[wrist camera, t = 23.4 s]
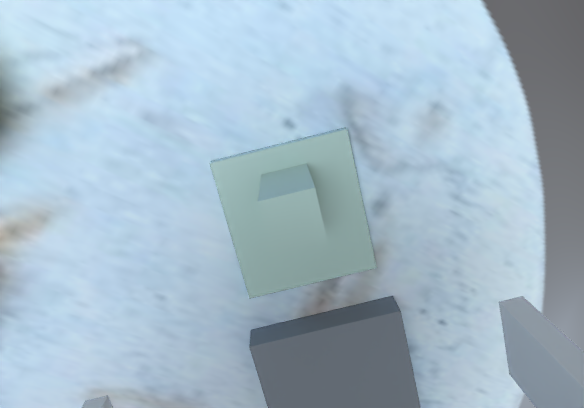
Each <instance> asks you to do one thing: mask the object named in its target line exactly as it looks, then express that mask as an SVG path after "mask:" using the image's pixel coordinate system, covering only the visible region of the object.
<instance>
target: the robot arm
mask: <svg viewBox="0 0 584 408" xmlns="http://www.w3.org/2000/svg"><path fill="white" fill-rule="evenodd" d="M499 305H500V312H501V319H502V326H503V333H504V340H505V347H506V354H507V361H508V368H509V374H510V375H511V377H512V378H513V379H514V380H515V382H516V383H517V384H518V386H519V387H520V388H521V389H522V391H523V392H524V393H525V395H526V396H527V397H528V398H529V400H530V401H531V402H532V403H533V405H534V406H535V407H536V408H584V351H583V350H582V349H580V348H579V347H578V346H577V345H576V344H575V343H574V342H573V341H572V340H570V339H569V338H568V337H567V336H566V335H565V334H564V333H563V332H562V331H560V330H559V329H558V328H557V327H556V326H555V325H554V324H553V323H551V322H550V321H549V320H548V319H547V318H546V317H545V316H544V315H543V314H542V313H540V312H539V311H538V310H537V309H536V308H535V307H534V306H533V305H532V304H530V303H529V302H528V301H527V300H526V299H525V298H524V297H523V296H521V297H517V298H513V299H509V300H505V301H500V302H499ZM82 408H113V406H112V404H111V402H110V399H109V397H108V395H107V396H103V397H99V398H95V399H91V400H87V401H85V403H84V405H83V406H82Z"/></svg>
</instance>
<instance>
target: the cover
mask: <svg viewBox="0 0 584 408" xmlns="http://www.w3.org/2000/svg"><path fill="white" fill-rule="evenodd" d="M210 166H211V170H212V173H213V176H214V180H215V183H216V186H217V190H218V193H219V197H220V200H221V203H222V207H223V210H224V214H225V217H226V220H227V224H228V227H229V231H230V234H231V237H232V241H233V244H234V247H235V251H236V254H237V258H238V261H239V264H240V268H241V271H242V275H243V278H244V281H245V285H246V288H247V291H248V295H249V298H254V297H258V296H263V295H267V294H271V293H275V292H279V291H283V290H288V289H292V288H296V287H300V286H304V285H308V284H312V283H317V282H321V281H325V280H329V279H333V278H337V277H342V276H346V275H350V274H354V273H358V272H362V271H367V270H371V269H375V268H377V266H376V262H375V257H374V252H373V248H372V243H371V238H370V234H369V229H368V224H367V219H366V215H365V210H364V205H363V201H362V196H361V191H360V187H359V182H358V177H357V173H356V168H355V163H354V158H353V154H352V149H351V144H350V140H349V135H348V130H347V129H346V128H341V129H337V130H333V131H329V132H325V133H321V134H317V135H313V136H309V137H305V138H301V139H297V140H293V141H289V142H285V143H281V144H277V145H273V146H269V147H265V148H261V149H257V150H253V151H249V152H245V153H241V154H237V155H233V156H229V157H225V158H221V159H217V160H213V161H211V162H210Z"/></svg>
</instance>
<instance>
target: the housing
mask: <svg viewBox="0 0 584 408" xmlns="http://www.w3.org/2000/svg"><path fill="white" fill-rule="evenodd" d="M250 350H251V354H252V357H253V360H254V363H255V367H256V370H257V373H258V376H259V380H260V383H261V386H262V390H263V393H264V396H265V399H266V403H267V406H268V408H420V403H419V398H418V394H417V389H416V384H415V379H414V374H413V369H412V364H411V360H410V355H409V350H408V345H407V340H406V335H405V330H404V326H403V321H402V316H401V311H400V309H399V307H398V305H397V303H396V301H395V300H394V298H393V296H391V297H387V298H382V299H378V300H374V301H370V302H366V303H362V304H357V305H353V306H349V307H345V308H341V309H336V310H332V311H328V312H324V313H320V314H316V315H311V316H307V317H303V318H299V319H295V320H291V321H286V322H282V323H278V324H274V325H270V326H266V327H261V328H257V329H253V330H251V336H250Z"/></svg>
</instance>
